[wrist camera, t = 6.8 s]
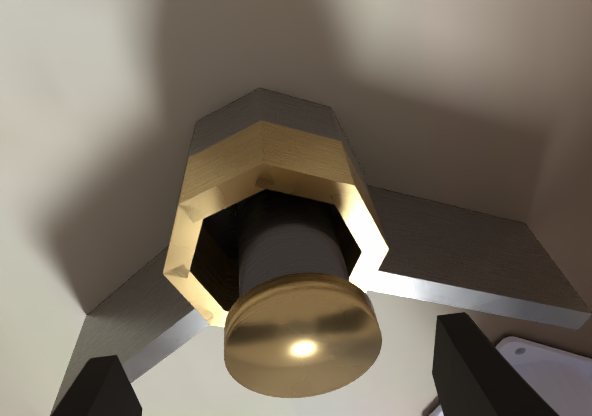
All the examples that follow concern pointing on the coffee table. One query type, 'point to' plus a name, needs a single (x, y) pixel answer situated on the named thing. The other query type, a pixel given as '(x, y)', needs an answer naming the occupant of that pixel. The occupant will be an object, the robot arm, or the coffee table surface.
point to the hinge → (349, 226)
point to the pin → (295, 302)
